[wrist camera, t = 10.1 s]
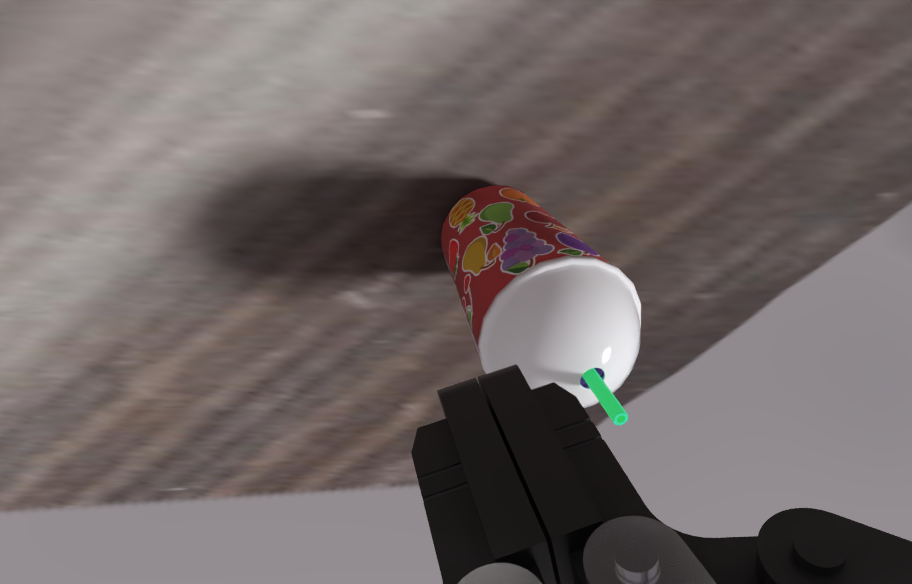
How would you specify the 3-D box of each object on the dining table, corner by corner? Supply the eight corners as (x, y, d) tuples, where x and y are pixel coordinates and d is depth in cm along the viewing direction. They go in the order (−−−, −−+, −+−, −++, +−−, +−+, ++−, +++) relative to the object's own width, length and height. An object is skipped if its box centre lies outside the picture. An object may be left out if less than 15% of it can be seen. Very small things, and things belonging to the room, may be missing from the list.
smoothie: (459, 301, 45) (567, 523, 28) (402, 209, 40) (487, 405, 23) (562, 242, 44) (734, 430, 27) (515, 142, 40) (686, 292, 23)
